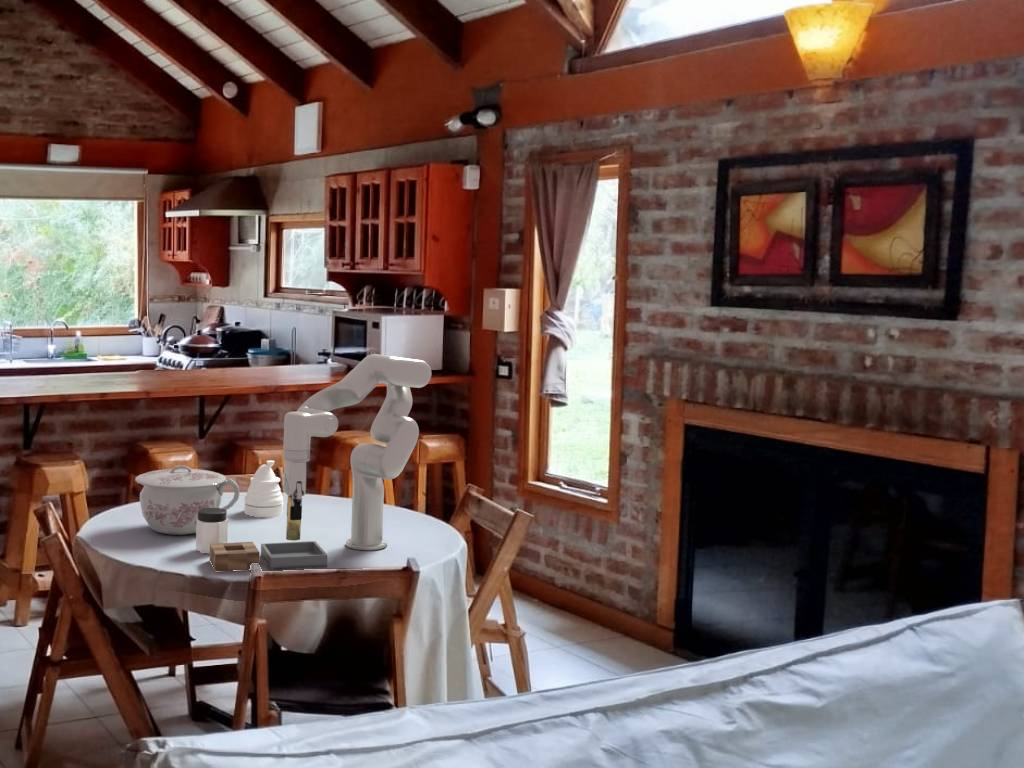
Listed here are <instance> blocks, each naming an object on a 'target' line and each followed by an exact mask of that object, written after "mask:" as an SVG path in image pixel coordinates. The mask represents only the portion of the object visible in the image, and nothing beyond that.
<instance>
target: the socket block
mask: <svg viewBox="0 0 1024 768" xmlns="http://www.w3.org/2000/svg"><path fill="white" fill-rule="evenodd" d="M260 556H261V551H260V550H259V549H258V548H257V546H256V545H255V543H254V542H253V541H237V542H235V541H234V542H227V543H214V544H210V554H209V562H210V561H211V563H212V565H213V567H214V569H215V571H230V572H234V571H233V570H248V571H250V570H249V569H250V565H251V564H252V563H259V564H260ZM211 563H210V564H211ZM212 565H211V566H212ZM213 567H212V568H213ZM214 569H213V570H214ZM215 571H214V572H215Z"/></svg>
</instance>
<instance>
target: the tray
mask: <svg viewBox="0 0 1024 768" xmlns="http://www.w3.org/2000/svg"><path fill="white" fill-rule="evenodd" d="M260 556H261V558H262V559H263V561H264V562H265V563H266V565H267V567H268V568H269V570H270V571H276V570H277V571H280V570H281V571H282V569H283V570H297V569H296V568H301V569H314V568H315V569H316V568H328V558H329V557H328V554H327V553H326V551H324V549H323V547H321V545H320V544H319V543H318V542H317V541H315V540H311V541H307V540H306V541H292V542H289V541H287V542H269V543H260Z"/></svg>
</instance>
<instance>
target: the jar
mask: <svg viewBox="0 0 1024 768" xmlns="http://www.w3.org/2000/svg"><path fill="white" fill-rule="evenodd" d="M227 512H228V510H225V509H222V507H220V508H204V509H200V510H199V511H198V519H197V522H196V533H195V537H196V538H195V550H196V549H197V550H198V551H200V552H202V553H210V544H214V543H228V538H229V536H228V534H229V532H228V530H229V529H228V528H229V519H228V518H227V516H228V515H227V514H228V513H227ZM197 550H196V551H197ZM198 551H197V552H198ZM200 552H199V553H200ZM202 553H201V554H202Z"/></svg>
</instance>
